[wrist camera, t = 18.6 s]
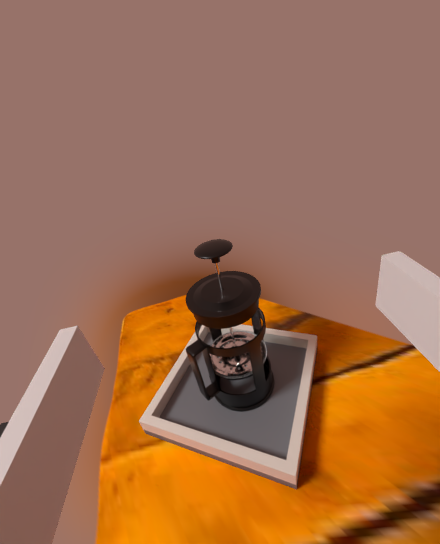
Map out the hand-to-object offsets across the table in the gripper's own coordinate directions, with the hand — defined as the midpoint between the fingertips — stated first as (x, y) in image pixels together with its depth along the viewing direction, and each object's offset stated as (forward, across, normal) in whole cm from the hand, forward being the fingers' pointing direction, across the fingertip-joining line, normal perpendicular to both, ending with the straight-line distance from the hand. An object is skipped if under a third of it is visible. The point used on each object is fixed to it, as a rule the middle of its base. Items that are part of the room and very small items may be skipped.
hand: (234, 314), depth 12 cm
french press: (+17, -1, -28) cm, 33 cm away
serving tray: (+17, -2, -29) cm, 34 cm away
